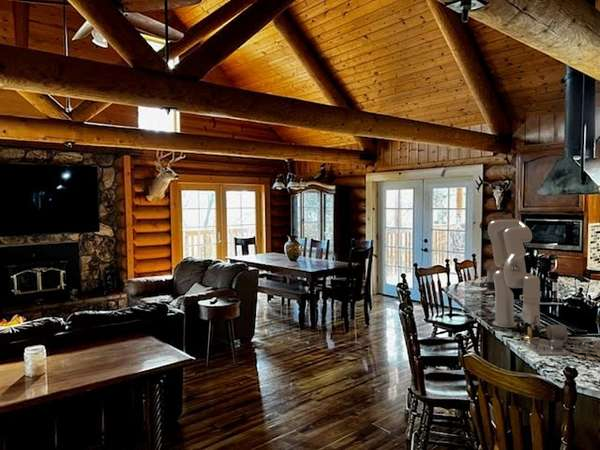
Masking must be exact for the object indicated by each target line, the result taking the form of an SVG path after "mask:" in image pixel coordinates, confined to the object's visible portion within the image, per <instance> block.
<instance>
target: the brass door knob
mask: <svg viewBox="0 0 600 450" xmlns="http://www.w3.org/2000/svg"><path fill="white" fill-rule="evenodd" d="M532 329H533V327H532V325H531V326H528V332H527V334H526V335H523V341H527V340H528V339H540V336H539V337H532Z"/></svg>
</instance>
